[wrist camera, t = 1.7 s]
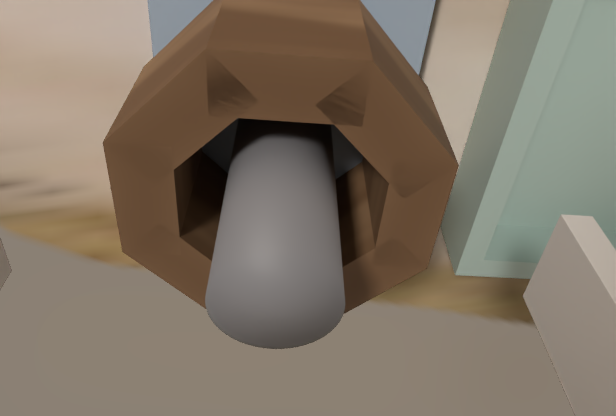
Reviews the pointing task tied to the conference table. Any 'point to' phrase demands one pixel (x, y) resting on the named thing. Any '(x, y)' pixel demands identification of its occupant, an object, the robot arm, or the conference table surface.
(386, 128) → the ring
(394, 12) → the stake stand
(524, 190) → the tray
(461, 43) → the conference table surface
